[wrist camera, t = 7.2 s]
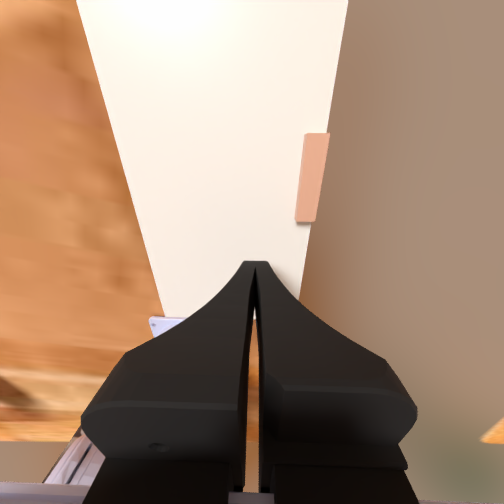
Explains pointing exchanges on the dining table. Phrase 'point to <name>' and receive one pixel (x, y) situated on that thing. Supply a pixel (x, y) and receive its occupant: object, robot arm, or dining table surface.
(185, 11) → the duct lid
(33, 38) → the dining table surface
